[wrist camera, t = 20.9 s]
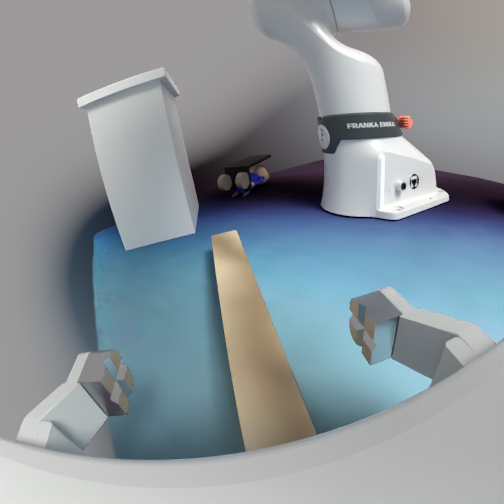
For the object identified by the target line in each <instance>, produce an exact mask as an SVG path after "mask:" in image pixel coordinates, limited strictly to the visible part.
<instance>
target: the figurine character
mask: <svg viewBox="0 0 504 504" xmlns="http://www.w3.org/2000/svg"><path fill="white" fill-rule="evenodd" d="M270 157H271V155H258V156H249V157H247V158H244V159H242V160H240V161H238V162H235V163H234V164H231V165H229V166H227V167H225V168H224V169H225V175H221V176H220V177H219V179H218V187H219V189H220V190H229V189H236V192H235V193H234V194H232V195H231V196H232V197H235V196H236V195H238V194H239V193H240V192H241V193H245V194H243V197H244V196H246V195H247V194H248V193H249V192H250V189H252V188H253V187H254V186H255V185H262V184H265V183H266V182H267V181H268V179H269V171H268V169H267V168H266V167H264V166H262V165H256V164H258V163H260V162H262V161H264V160H266V159H268V158H270ZM254 165H256V166H254ZM252 166H254V167H252ZM250 167H252V168H251V169H249V168H250Z"/></svg>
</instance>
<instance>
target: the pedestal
mask: <svg viewBox="0 0 504 504" xmlns="http://www.w3.org/2000/svg"><path fill="white" fill-rule="evenodd" d="M176 96H179V91H178V88H177V87H176V85H175V84H174V82H173V81H172V79H171V78H170V76H169V75H168V73H167V72H166V70H165V69H164V67H162V68H159V69H155V70H152V71H149V72H146V73H142V74H139V75H136V76H133V77H130V78H127V79H125V80H122V81H119V82H116V83H114V84H111V85H109V86H106V87H104V88H101V89H99V90H96V91H94V92H92V93H89V94H87V95H85V96H83V97H80V98H78V99H77V102H78V108H84V109H87V111H88V117H89V122H90V127H91V132H92V137H93V141H94V146H95V150H96V154H97V158H98V162H99V166H100V170H101V174H102V178H103V181H104V185H105V188H106V192H107V196H108V199H109V202H110V205H111V209H112V212H113V215H114V218H115V221H116V224H117V227H118V230H119V233H120V236H121V239H122V242H123V245H124V247H125V250H126V251H127V250H131V249H135V248H139V247H142V246H146V245H150V244H154V243H158V242H162V241H166V240H170V239H174V238H178V237H182V236H186V235H190V234H194V233H195V231H196V224H197V216H198V209H199V204H198V200H197V196H196V192H195V187H194V183H193V179H192V175H191V171H190V167H189V162H188V158H187V153H186V149H185V144H184V140H183V135H182V131H181V126H180V121H179V117H178V112H177V107H176V102H175V97H176Z"/></svg>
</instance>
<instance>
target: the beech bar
mask: <svg viewBox="0 0 504 504" xmlns="http://www.w3.org/2000/svg"><path fill="white" fill-rule="evenodd" d="M211 238H212V246H213V255H214V262H215V270H216V278H217V285H218V293H219V300H220V307H221V314H222V320H223V327H224V334H225V340H226V346H227V353H228V359H229V365H230V371H231V377H232V382H233V388H234V394H235V399H236V405H237V410H238V415H239V421H240V426H241V431H242V436H243V441H244V446H245V451H246V452H247V451H252V450H257V449H263V448H267V447H272V446H277V445H281V444H285V443H289V442H293V441H297V440H301V439H304V438H308V437H311V436H315V435H317V433H316V430H315V428H314V425H313V423H312V420H311V418H310V415H309V413H308V410H307V408H306V405H305V403H304V400H303V398H302V395H301V393H300V390H299V388H298V385H297V383H296V381H295V378H294V376H293V373H292V371H291V368H290V365H289V363H288V360H287V358H286V355H285V353H284V350H283V348H282V345H281V343H280V340H279V338H278V335H277V333H276V330H275V328H274V325H273V323H272V320H271V318H270V315H269V313H268V310H267V307H266V305H265V302H264V300H263V297H262V295H261V292H260V290H259V287H258V285H257V282H256V279H255V277H254V274H253V272H252V269H251V267H250V264H249V262H248V259H247V256H246V254H245V251H244V249H243V246H242V244H241V241H240V238H239V236H238V233H237V231H236V230H233V231H229V232H225V233H221V234H217V235H213V236H211Z"/></svg>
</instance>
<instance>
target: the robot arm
mask: <svg viewBox="0 0 504 504" xmlns="http://www.w3.org/2000/svg"><path fill="white" fill-rule="evenodd" d="M410 10H411V8H410V2H409V0H249V3H248V15H249V18H250V21H251V22H252V24H253V26H254V27H255V28H256V29H257V30H258V31H259V32H260V33H262V34H263V35H265V36H266V37H268V38H270V39H273V40H276V41H278V42H281V43H283V44H285V45H286V46H287V47H289V48H290V49H291V50H292V51H294V52H295V53H296V54H297V55H298V56H299V58H300V59H301V60H302V62H303V63H304V65H305V66H306V68H307V70H308V73H309V75H310V78H311V81H312V85H313V88H314V92H315V96H316V101H317V105H318V110H319V116H322V117H318V118H317V121H318V133H319V139H320V144H321V147H322V151H323V152H324V188H323V195H322V201H321V206H322V208H324V209H325V210H327V211H329V212H332V213H336V214H340V215H346V216H358V217H377V218H383V219H389V220H398V219H401V218H404V217H407V216H409V215H412V214H415V213H418V212H420V211H423V210H426V209H428V208H431V207H433V206H436V205H439V204H441V203H444V202H447V201H449V195H448V194H447V193H446V192H445V191H443V190H442V189H440V188H438V187H436V178H435V171H434V167H433V165H432V163H431V161H430V160H428V159H427V158H426V157H425V156H424V155H423V154H422V153H421V152H419V151H418V150H417V149H416V148H415V147H414V146H413V145H411V144H410V143H409V142H408V141H407V140H405V139H404V138H403V137H402V136H401V135H402V132H401V129H400V128H406V129H411V128H412V127H410V126H413V124H410V123H413V122H409V120H412V119H409V118H410V116H404V117H403V116H399V117H398V119H396V117H395V116H394V115H393V114H392V113H387V112H390V106H389V100H388V94H387V89H386V83H385V78H384V73H383V70H382V67H381V66H380V64H379V63H378V62H377V61H376V60H375V59H374V58H372V57H371V56H369V55H368V54H366V53H364V52H361V51H359V50H356V49H353V48H350V47H347V46H345V45H343V44H342V43H340V42H339V41H338V40H336V39H335V37H334V36H333V35H334V34H337V33H347V32H369V31H382V30H388V29H394V28H399V27H403V26H404V25H405V24H406V22H407V21H408V19H409V16H410ZM350 310H351V312H352V313H353V315H352V316H351V318H350V319H349V321H350V331H351V335H352V338H353V340H354V341H355V343H356V344H357V345H359V346H362V354H363V355H364V357H365V358H366V360H367V361H368V363H369V364H370V365H373V364H375V363H378V362H381V361H384V360H386V359H389V358H391V357H392V359H394V360H396V361H397V362H399V363H401V364H403V365H405V366H407V367H409V368H411V369H413V370H415V371H417V372H419V373H421V374H423V375H424V376H426V377H428V378H430V379H432V382H431V384H430V386H429V388H428V389H426V390H424V391H422V392H420V393H419V394H417V395H415V396H413V397H411V398H409V399H407V400H405V401H403V402H401V403H398V404H396V405H394V406H392V407H390V408H388V409H385V410H383V411H381V412H378V413H376V414H374V415H371V416H369V417H366V418H364V419H361V420H359V421H356V422H354V423H351V424H348V425H345V426H343V427H340V428H337V429H334V430H331V431H328V432H325V433H321V434H318V435H315V436H311V437H308V438H304V439H301V440H297V441H293V442H289V443H285V444H281V445H277V446H272V447H267V448H263V449H257V450H252V451H247V452H241V453H234V454H227V455H220V456H211V457H201V458H189V459H170V460H132V459H113V458H101V457H92V456H88V455H87V454H86V453H84V452H83V450H84V449H85V447H86V446H87V444H88V443H89V442H90V440H91V439H92V438H93V436H94V435H95V434H96V432H97V430H99V428H100V427H101V426H102V424H103V423H104V422H105V420H106V419H107V418H108V417H107V416H120V415H127V414H128V409H129V404H130V400H129V398H128V397H127V396H128V395H129V394H130V393H131V392H132V388H133V379H132V375H131V372H130V370H129V369H128V367H127V366H125V365H124V364H122V363H121V359H122V358H121V356H120V354H119V353H118V351H116V350H106V351H94V352H84V353H80V354H79V355H78V357H77V359H76V361H75V363H74V365H73V368H72V370H71V372H70V375H69V377H68V379H67V381H66V383H63V384H61V385H60V386H59V387H58V388H57V389H56V390H55V391H54V392H52V393H51V394H50V395H49V396H48V397H47V398H46V399H44V400H43V401H42V402H41V403H40V404H39V405H38V406H37V407H35V408H34V409H33V410H32V411H31V412H30V413H29V414H28V415H26V416H25V418H24V420H23V423H22V425H21V428H20V431H19V433H18V436H17V438H16V441H13V440H10V439H6V438H3V437H0V504H504V338H503V339H502V340H501V341H499V342H498V343H497V344H496V343H495V342H494V341H493V340H492V339H491V338H490V337H489V336H487V335H486V334H485V333H484V332H483V331H482V330H481V329H480V328H479V327H478V326H477V325H476V324H473V323H469V322H466V321H462V320H458V319H455V318H451V317H448V316H444V315H441V314H437V313H434V312H430V311H427V310H423V309H420V308H419V309H416V310H415V309H414V308H413V307H412V306H411V305H410V304H409V303H408V302H407V301H406V300H405V299H404V298H403V297H402V296H401V295H400V294H399V293H398V292H397V291H395V290H394V289H393V288H392V287H390V286H388V287H385V288H382V289H379V290H377V291H375V292H372V293H369V294H366V295H363V296H359V297H356V298H353V299H351V301H350Z"/></svg>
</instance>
